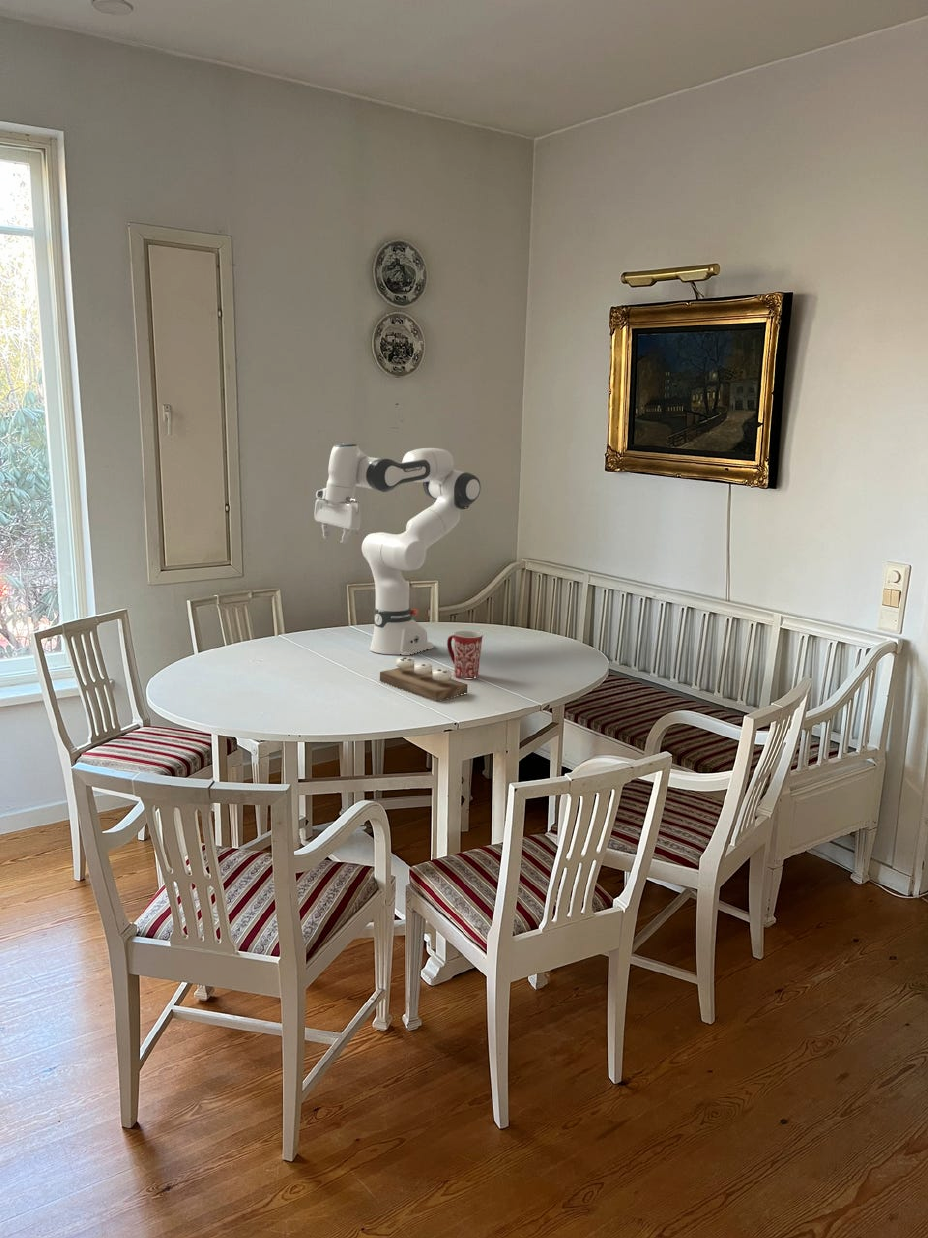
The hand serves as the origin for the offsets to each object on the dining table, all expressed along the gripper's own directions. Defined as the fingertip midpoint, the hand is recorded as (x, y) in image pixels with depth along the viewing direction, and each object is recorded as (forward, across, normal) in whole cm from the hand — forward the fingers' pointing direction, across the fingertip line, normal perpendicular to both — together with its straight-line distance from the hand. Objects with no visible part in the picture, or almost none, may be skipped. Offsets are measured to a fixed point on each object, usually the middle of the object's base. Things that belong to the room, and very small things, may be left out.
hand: (334, 540), depth 292 cm
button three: (+33, -31, -8) cm, 46 cm away
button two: (+32, -47, -9) cm, 58 cm away
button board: (+37, -40, -9) cm, 55 cm away
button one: (+32, -39, -8) cm, 52 cm away
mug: (+35, -36, -28) cm, 58 cm away
